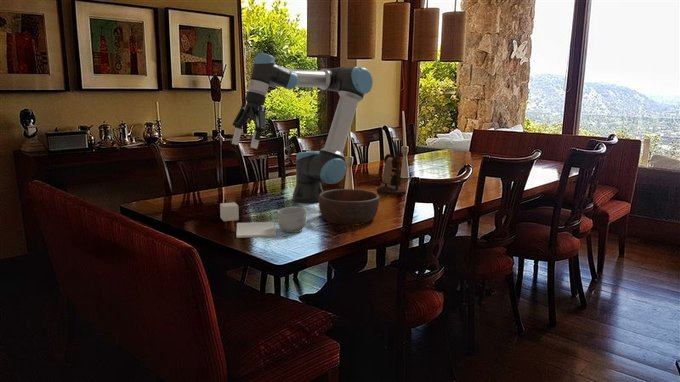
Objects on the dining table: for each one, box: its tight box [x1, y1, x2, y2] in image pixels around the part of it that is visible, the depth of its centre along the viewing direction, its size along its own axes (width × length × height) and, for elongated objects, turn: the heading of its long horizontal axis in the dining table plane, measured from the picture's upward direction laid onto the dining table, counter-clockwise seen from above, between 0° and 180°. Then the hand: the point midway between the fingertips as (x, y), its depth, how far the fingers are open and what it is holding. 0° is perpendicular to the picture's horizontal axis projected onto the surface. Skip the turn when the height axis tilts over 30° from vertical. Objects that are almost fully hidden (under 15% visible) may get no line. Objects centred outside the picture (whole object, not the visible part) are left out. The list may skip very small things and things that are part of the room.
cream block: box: [219, 202, 240, 222], centre depth 209 cm, size 6×6×6 cm
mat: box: [236, 221, 277, 239], centre depth 194 cm, size 14×17×1 cm
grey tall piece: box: [376, 153, 407, 196], centre depth 258 cm, size 15×15×20 cm
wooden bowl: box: [318, 188, 380, 226], centre depth 211 cm, size 25×25×10 cm
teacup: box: [276, 205, 307, 233], centre depth 195 cm, size 14×11×8 cm
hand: (244, 146), depth 201 cm, fingers open, 13 cm apart
